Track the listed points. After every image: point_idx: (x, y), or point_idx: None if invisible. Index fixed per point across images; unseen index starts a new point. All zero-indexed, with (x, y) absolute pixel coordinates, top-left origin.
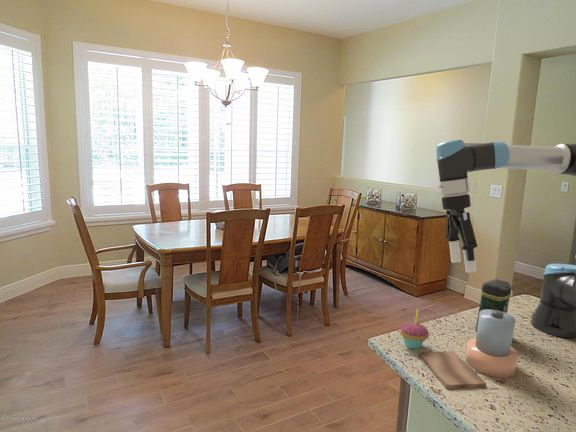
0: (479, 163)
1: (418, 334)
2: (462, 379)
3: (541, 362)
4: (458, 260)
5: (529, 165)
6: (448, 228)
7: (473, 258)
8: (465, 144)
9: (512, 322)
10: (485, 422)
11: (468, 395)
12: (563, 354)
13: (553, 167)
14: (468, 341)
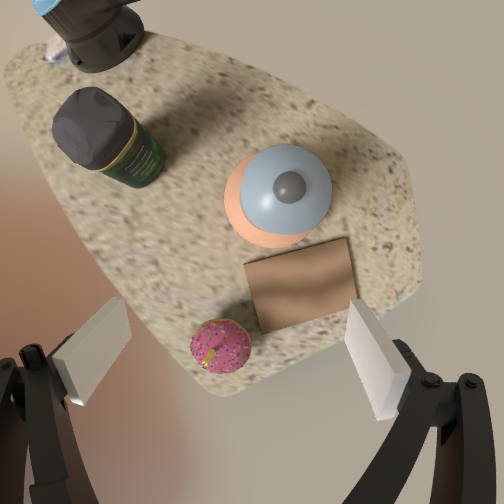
0: None
1: (248, 347)
2: (341, 275)
3: (241, 102)
4: (122, 312)
5: None
6: (23, 453)
7: (407, 349)
8: None
9: (322, 163)
10: (414, 266)
11: (368, 273)
12: (204, 57)
13: None
14: (250, 241)
